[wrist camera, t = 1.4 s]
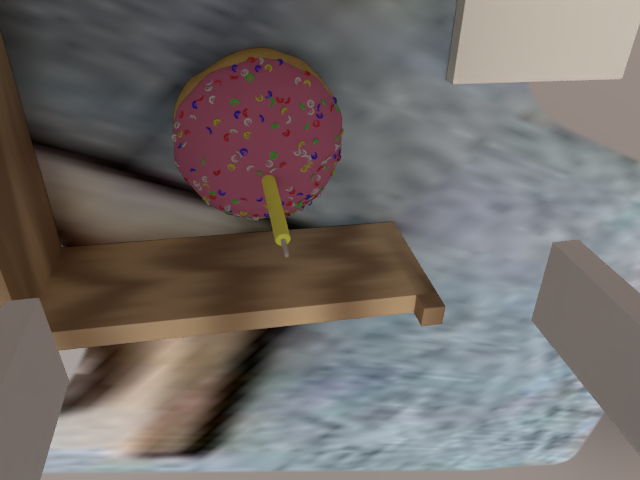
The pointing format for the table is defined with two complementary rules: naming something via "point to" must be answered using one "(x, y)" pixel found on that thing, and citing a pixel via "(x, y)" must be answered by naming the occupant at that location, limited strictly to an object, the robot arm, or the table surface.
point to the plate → (541, 40)
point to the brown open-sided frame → (189, 267)
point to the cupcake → (257, 136)
